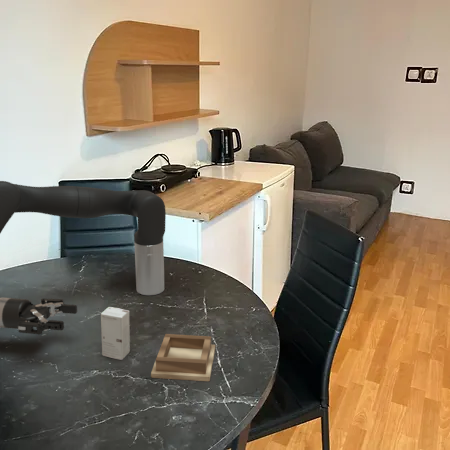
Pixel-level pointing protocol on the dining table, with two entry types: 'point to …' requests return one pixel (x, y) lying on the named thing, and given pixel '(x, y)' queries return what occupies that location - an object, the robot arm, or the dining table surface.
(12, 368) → the dining table surface
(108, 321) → the skincare box
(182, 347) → the socket board
